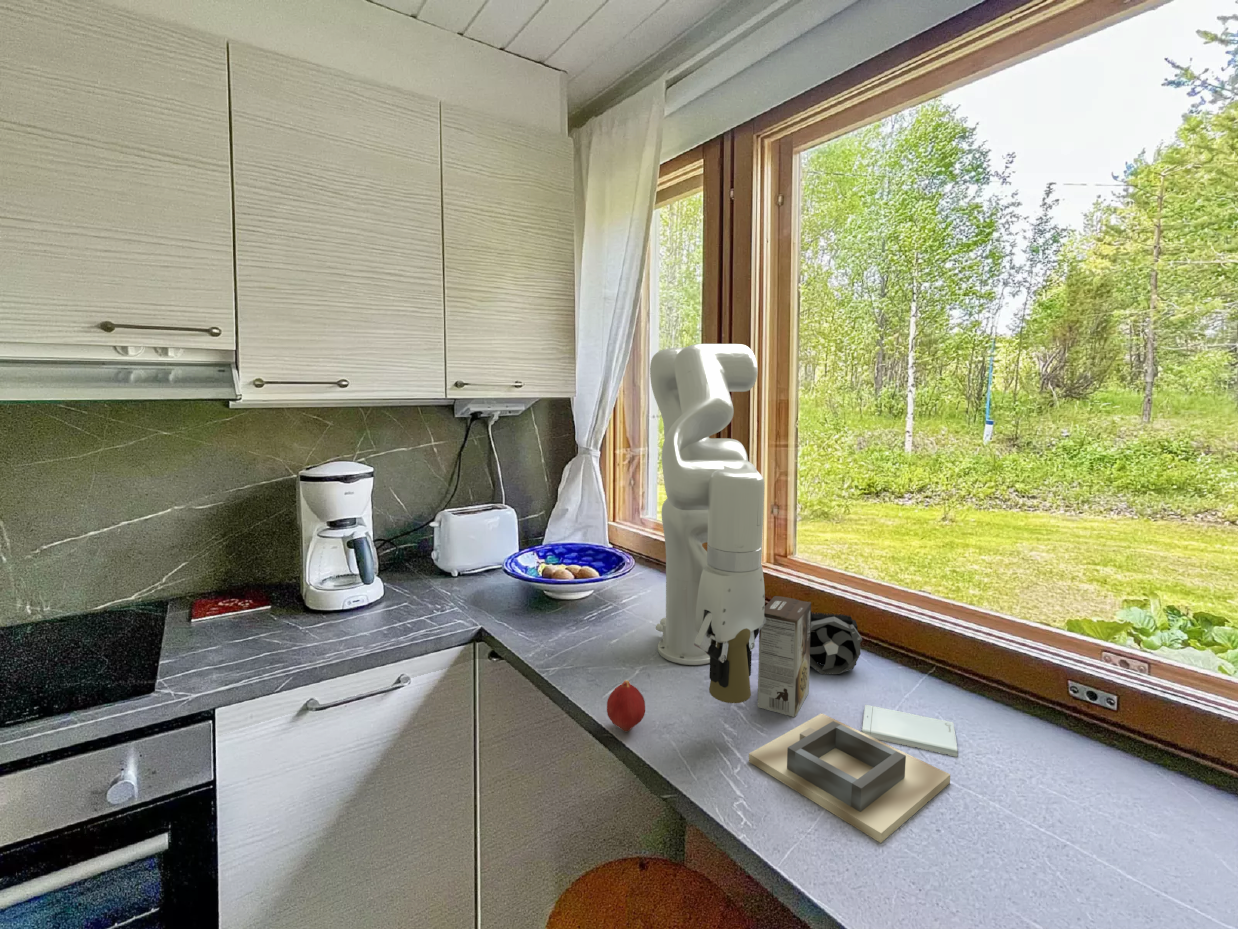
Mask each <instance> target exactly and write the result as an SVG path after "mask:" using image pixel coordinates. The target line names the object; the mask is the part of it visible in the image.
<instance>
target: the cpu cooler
mask: <svg viewBox="0 0 1238 929" xmlns="http://www.w3.org/2000/svg"><path fill="white" fill-rule="evenodd" d="M858 628H859V627H858V624H857V621H856V619H853V618H852V616H851V615H850V614H849V615H848V614H847V615H846V614H842V613H835V614H834V613H832V612H831V613H829V612H828V613H827V612H825V613H824V612H819V611H817V612H816V611H815V612H814V611H811V630H810V666H809V667H811V668H813V669H814V670H815V671H816V672H818V673H819V674H820V675H840V674H842V673H843V674H844V673H845V672H847V671H850V670H853V669H854V668H855V666H856V665H857V661H858V660H859V658H860V655H861V643H862V641H863V638H862V635H861V634H860V632H858Z"/></svg>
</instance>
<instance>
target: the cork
mask: <svg viewBox="0 0 1238 929" xmlns="http://www.w3.org/2000/svg"><path fill="white" fill-rule="evenodd" d="M750 634H751V633H750V630H749V629H747V628H746V629H743V630H741V631H740V632H739V633H738V634H737V635H736V637H735V638H734V639H731V640H729V642H728V643H729V645H728V652H727V658H726V660H728V661H729V684H728V686H727V687H725V688H724V687H722V686H720V685H719V682H718V681H717V682H716V683H715V682H713V681H712V680H710V681H709V694H710V695H711V696H712V697H713V698H714V699H715V700H718V701H720V702H721V703H722V702H723V703H727V704H742V703H744V702H747V701H748V700H749V699H750V698H751V696H752V690H751V681H750V676H749V669H748V659H747V649H746V644H747V643H748V642H749V639H750ZM720 644H721V643H718V642H717V646H716V647H717V648H718V649H719V648H720Z"/></svg>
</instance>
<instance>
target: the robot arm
mask: <svg viewBox="0 0 1238 929" xmlns="http://www.w3.org/2000/svg"><path fill="white" fill-rule="evenodd" d="M649 366H650V367H649V375H650V376H649V377H650V378H649V379H650V384H651V390H652V394H653V397H654V399H655V403H656V405H657V407H658V409H659V410H658V411H659V413H660V415H661V419H662V422H663V436H664V437H663V438H664V441H663V443H662V447H661V449H662V451H661V468H662V475H663V485H664V490H665V495H666V498H665V500H664V502H663V503H662V507H661V522H662V529H663V535H664V543H665V544H664V547H665V617H662V618H661V619H660V621H659V623H657V624H656V625H655V629H656V631H658V632H660V633H662V639H661V640H660V641H659V642H658V643H657V652H658V654H659V655H660V656H661V658H664V659H665V660H667V661H669V662H672V663H675V664H679V665H687V666H688V665H689V666H701V665H706V664H709V680H710V681H711V680H712V681H713V682H715V683H716V682H717V681H718V682H719V685H720V686H722V687H724V688H725V687H727V686H728V684H729V661H728V660H726V658H727V652H728V645H729V643H728V642H729V640H731V639H734V638H735V637H736V635H737V634H738V633H739V632H740V631H741V630H743V629H746V628H747V629H749V630H750V633H751V634H750V639H749V642H748V643H747V644H746V649H747V659H748V669H749V677H750V676H751V675H752V657H753V656H752V651H753V650H754V649H755V647H756V642H755V641H756V640H757V637H758V636H759V630H760V629H761V628H762V627H763V625H764V624H765V622H766V618H765V616H764V610H765V606H766V605H765V604H766V600H765V599H766V595H765V594H766V592H765V581H764V580H765V578H764V570H763V569H764V568H763V564H762V558H763V557H762V554H763V533H764V532H763V529H764V527H763V526H764V510H765V509H764V508H765V506H764V505H765V504H764V502H765V479H764V476H763V475H762V474H761V473H760V472H759V471H758V470H757V468H756V466H755V465H754V463H752V462H750V461H749V458H748V457H749V456H748V453H747V450H746V449H745V447H744V445H743V444H742V442H741V441H739V440H737V439H735V438H734V439H733V438H727V437H726V438H725V437H723V438H720V437H719V438H715V437H714V438H711V436H712V435H716V434H717V433H719V432H721V431H723V430H724V429H725V428H726V427H727V426H728V425H730V423H731V422H732V419H733V418H734V412H735V410H734V406H733V402H732V397H731V394H730V392H732V393H733V392H734V393H735V392H736V393H737V392H741V393H742V392H749V391H750V390H751V389H753V387H754V386H755V385H756V382H757V379H758V373H759V371H758V370H759V369H758V362H757V358H756V356H755V353H754V352H753V350H752V349H751V348H750V347H749V346H747V345H746V344H742V343H696V344H689V345H688V346H684V347H683V346H682V347H680V346H679V347H671V348H665V349H661V350H659V351H657V352H656V353H655V354H654V355H653V356H652V358H651V360H650V364H649ZM705 543H707V546H706V548H707V549H706V548H704V546H703V544H705ZM717 642H718V643H721V644H720V648H719V649H718V648H717V647H716V646H717Z"/></svg>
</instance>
